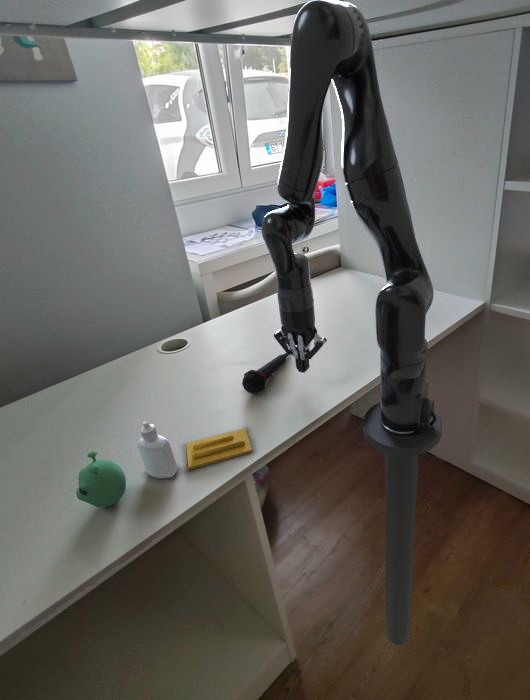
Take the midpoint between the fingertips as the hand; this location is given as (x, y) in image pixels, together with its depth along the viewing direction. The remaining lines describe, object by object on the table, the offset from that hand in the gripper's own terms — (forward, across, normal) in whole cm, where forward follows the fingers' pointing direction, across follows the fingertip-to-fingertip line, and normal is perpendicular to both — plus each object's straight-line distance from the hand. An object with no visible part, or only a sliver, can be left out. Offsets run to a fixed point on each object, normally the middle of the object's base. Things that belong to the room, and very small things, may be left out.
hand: (303, 370), depth 104 cm
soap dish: (+4, -5, -26) cm, 27 cm away
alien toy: (+4, -15, -44) cm, 47 cm away
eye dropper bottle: (+4, -11, -35) cm, 37 cm away
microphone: (+4, -9, 0) cm, 10 cm away
